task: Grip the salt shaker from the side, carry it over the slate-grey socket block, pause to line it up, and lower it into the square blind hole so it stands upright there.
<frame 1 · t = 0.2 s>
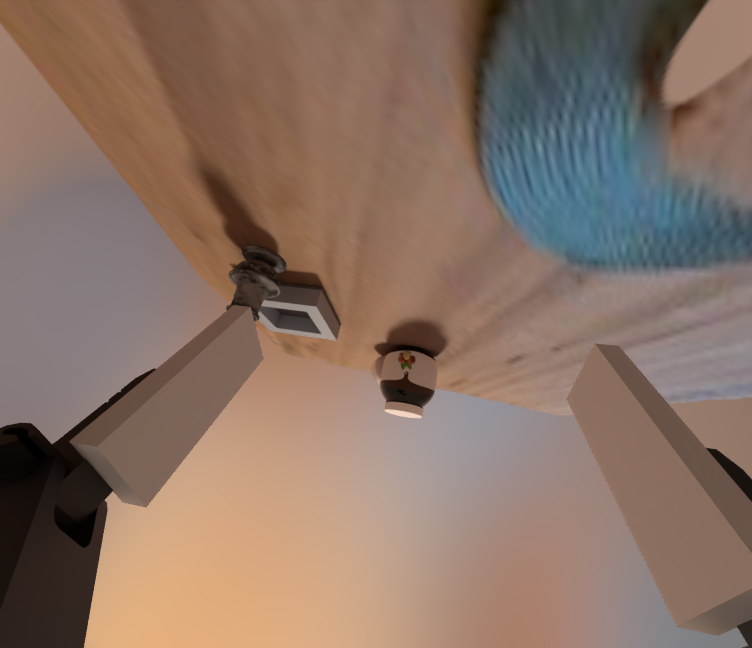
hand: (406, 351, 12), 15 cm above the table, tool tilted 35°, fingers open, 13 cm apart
salt shaker: (265, 258, 36), on the table
socket block: (295, 303, 46), on the table
spread jar: (405, 353, 59), on the table
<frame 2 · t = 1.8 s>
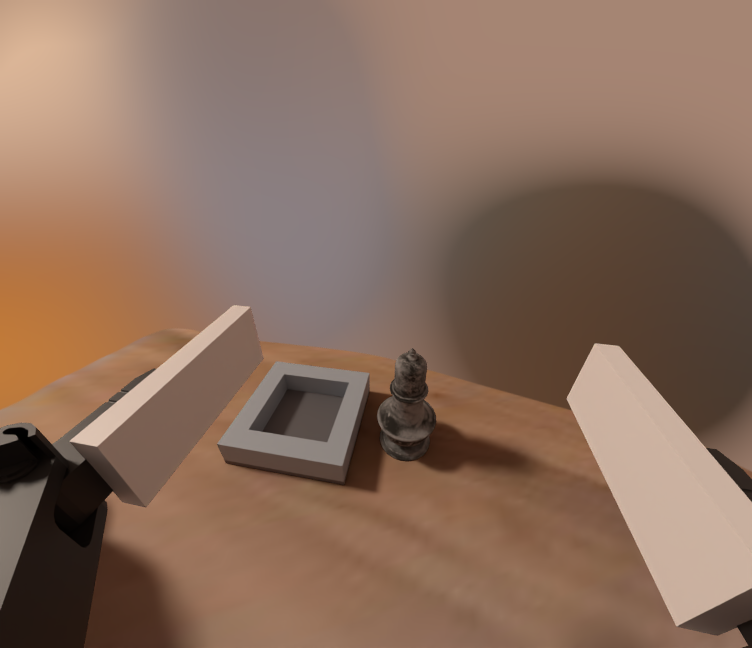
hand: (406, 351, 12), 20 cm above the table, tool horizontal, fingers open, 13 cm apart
salt shaker: (404, 439, 32), on the table
socket block: (306, 422, 33), on the table
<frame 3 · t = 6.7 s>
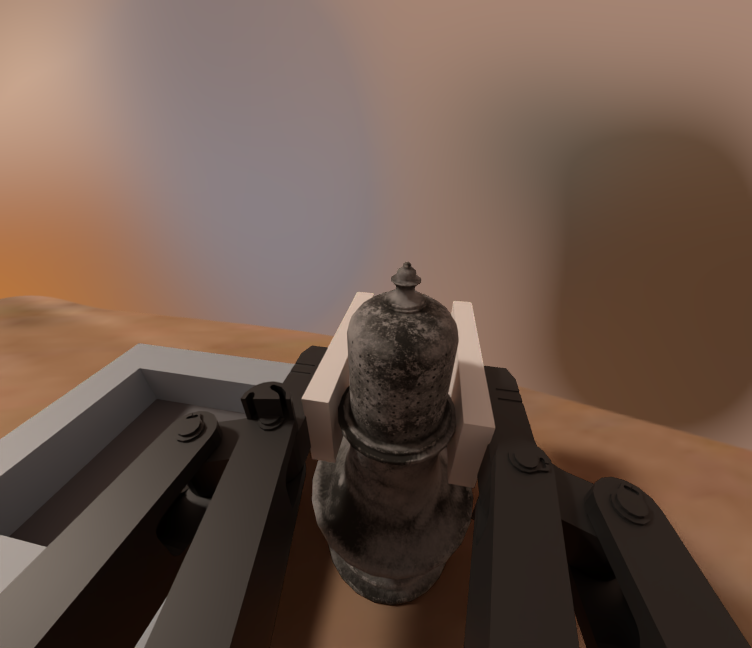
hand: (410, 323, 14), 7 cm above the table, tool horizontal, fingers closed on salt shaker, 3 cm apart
salt shaker: (388, 526, 13), on the table, touching gripper
socket block: (167, 477, 15), on the table
when the fingers open (8 cm above the table, at t = 11.8 s): salt shaker stays where it is, resting on socket block.
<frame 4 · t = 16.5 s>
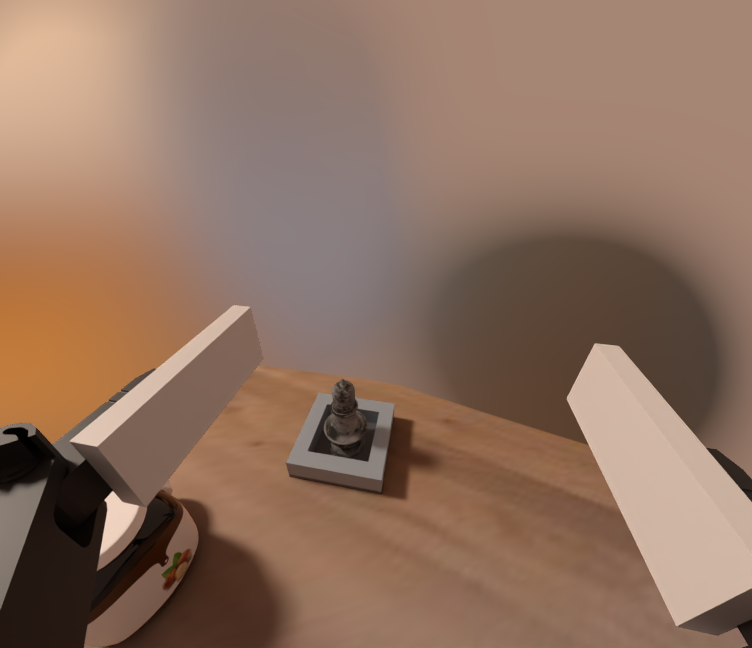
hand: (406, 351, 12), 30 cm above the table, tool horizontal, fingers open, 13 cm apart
salt shaker: (346, 442, 42), resting on socket block
socket block: (346, 443, 42), on the table
spread jar: (146, 559, 31), on the table
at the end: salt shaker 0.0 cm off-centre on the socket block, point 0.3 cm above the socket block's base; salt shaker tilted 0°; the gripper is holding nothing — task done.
